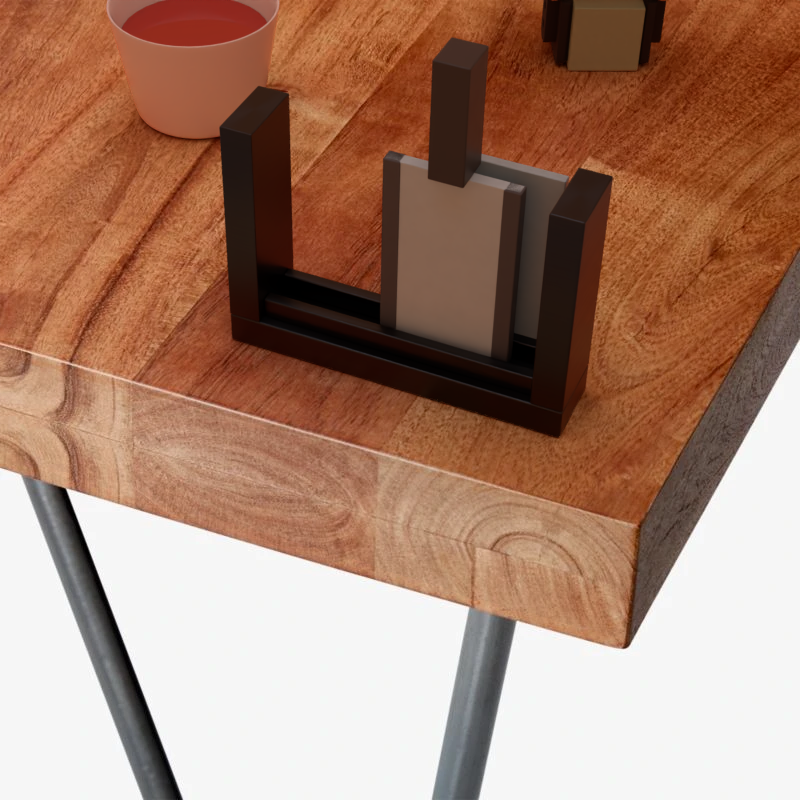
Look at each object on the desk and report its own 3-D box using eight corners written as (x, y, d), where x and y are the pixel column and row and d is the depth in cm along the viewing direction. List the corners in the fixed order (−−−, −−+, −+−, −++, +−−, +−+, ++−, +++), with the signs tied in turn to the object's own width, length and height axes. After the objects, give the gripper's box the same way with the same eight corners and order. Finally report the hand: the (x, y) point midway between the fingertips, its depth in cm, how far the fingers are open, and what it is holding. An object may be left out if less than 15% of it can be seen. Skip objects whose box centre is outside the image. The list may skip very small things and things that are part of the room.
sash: (373, 338, 74) (377, 47, 64) (391, 313, 75) (398, 23, 65) (501, 376, 72) (526, 83, 62) (517, 349, 74) (544, 58, 64)
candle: (163, 51, 95) (155, -51, 91) (308, 83, 93) (306, -19, 89) (87, 131, 89) (74, 26, 85) (240, 167, 87) (235, 61, 82)
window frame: (231, 339, 76) (218, 126, 69) (266, 294, 79) (258, 84, 71) (559, 438, 72) (585, 223, 64) (585, 388, 74) (613, 175, 67)
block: (627, 35, 98) (635, -27, 95) (637, 71, 95) (645, 8, 92) (560, 35, 98) (566, -27, 95) (567, 71, 95) (574, 8, 92)
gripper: (476, -241, 81) (458, 86, 93) (815, -238, 81) (754, 86, 94) (465, -297, 86) (450, 19, 99) (784, -293, 87) (729, 19, 99)
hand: (598, 48), depth 96 cm, fingers closed on block, 4 cm apart
